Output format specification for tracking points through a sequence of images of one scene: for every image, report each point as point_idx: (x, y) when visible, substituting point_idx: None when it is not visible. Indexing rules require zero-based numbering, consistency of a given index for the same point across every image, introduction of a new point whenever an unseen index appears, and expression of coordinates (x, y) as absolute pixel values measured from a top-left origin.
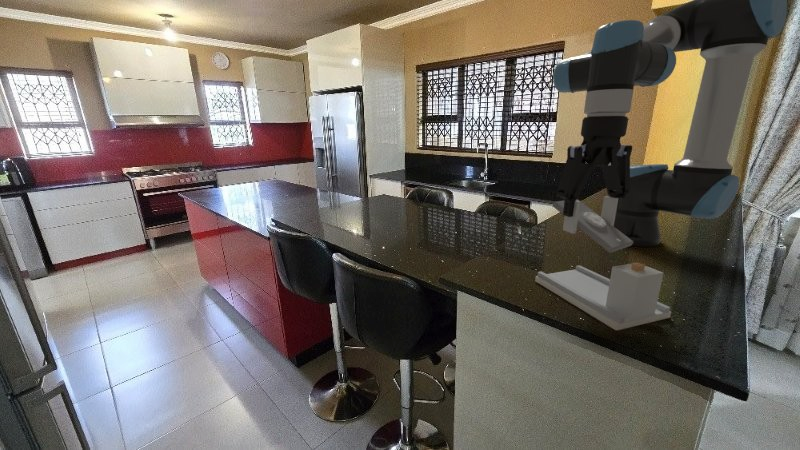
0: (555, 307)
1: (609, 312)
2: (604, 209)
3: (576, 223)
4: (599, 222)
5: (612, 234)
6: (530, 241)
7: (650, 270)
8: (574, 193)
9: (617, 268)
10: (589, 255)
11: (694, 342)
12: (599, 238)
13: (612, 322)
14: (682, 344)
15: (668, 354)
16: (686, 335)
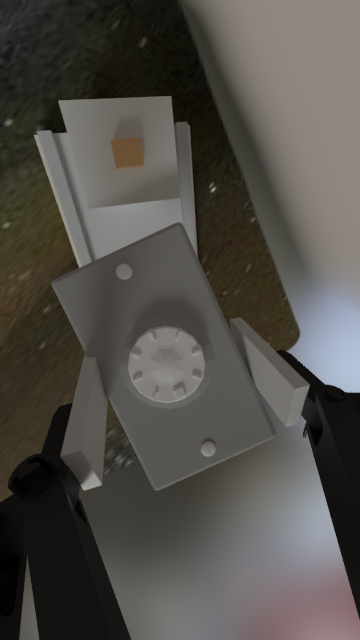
0: (226, 233)
1: (188, 154)
2: (102, 422)
3: (247, 334)
4: (164, 343)
5: (128, 301)
6: (116, 451)
7: (90, 136)
8: (356, 414)
9: (176, 181)
10: (38, 407)
11: (57, 18)
12: (201, 268)
13: (189, 139)
14: (92, 24)
15: (152, 3)
16: (54, 54)
